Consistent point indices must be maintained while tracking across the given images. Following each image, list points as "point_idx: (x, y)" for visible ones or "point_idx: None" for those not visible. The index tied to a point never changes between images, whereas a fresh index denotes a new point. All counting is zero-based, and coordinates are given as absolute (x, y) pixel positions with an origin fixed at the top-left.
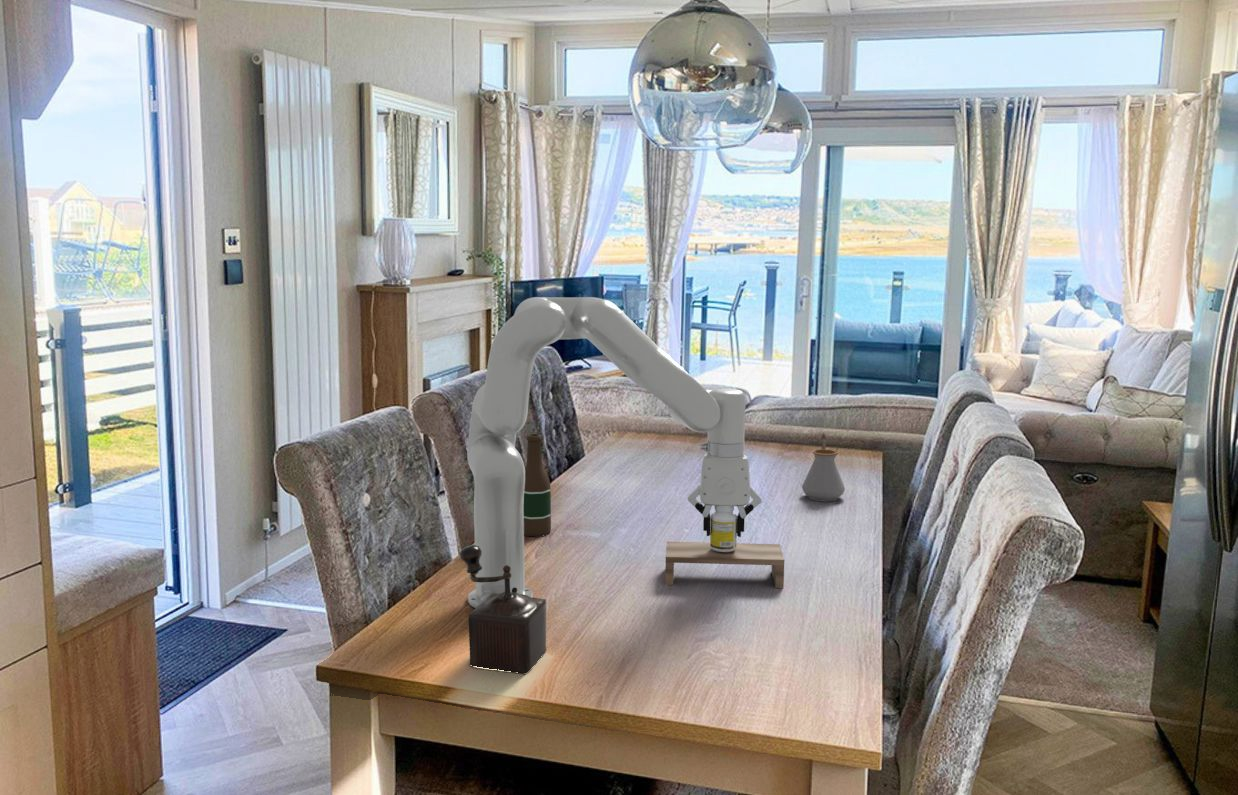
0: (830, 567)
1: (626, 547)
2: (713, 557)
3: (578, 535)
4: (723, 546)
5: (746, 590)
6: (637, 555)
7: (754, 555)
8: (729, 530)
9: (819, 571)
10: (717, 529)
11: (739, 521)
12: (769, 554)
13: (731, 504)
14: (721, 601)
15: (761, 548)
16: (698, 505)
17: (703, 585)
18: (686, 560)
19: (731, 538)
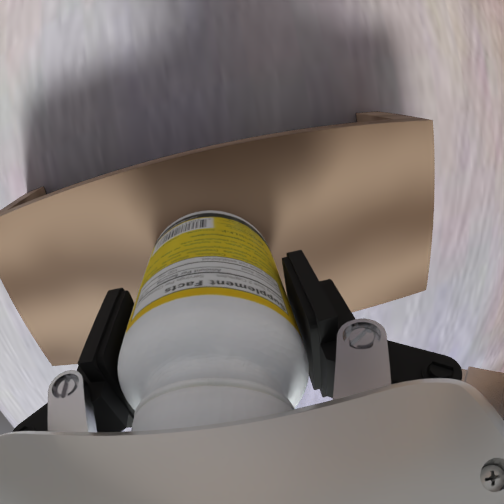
0: (8, 353)
1: (449, 339)
2: (236, 152)
3: (498, 351)
4: (195, 219)
5: (113, 132)
6: (438, 308)
7: (70, 238)
8: (155, 276)
9: (11, 330)
10: (238, 265)
11: (93, 347)
12: (32, 267)
13: (97, 440)
14: (178, 12)
15: (80, 321)
16: (445, 376)
17: (261, 132)
18: (352, 124)
19: (153, 260)
